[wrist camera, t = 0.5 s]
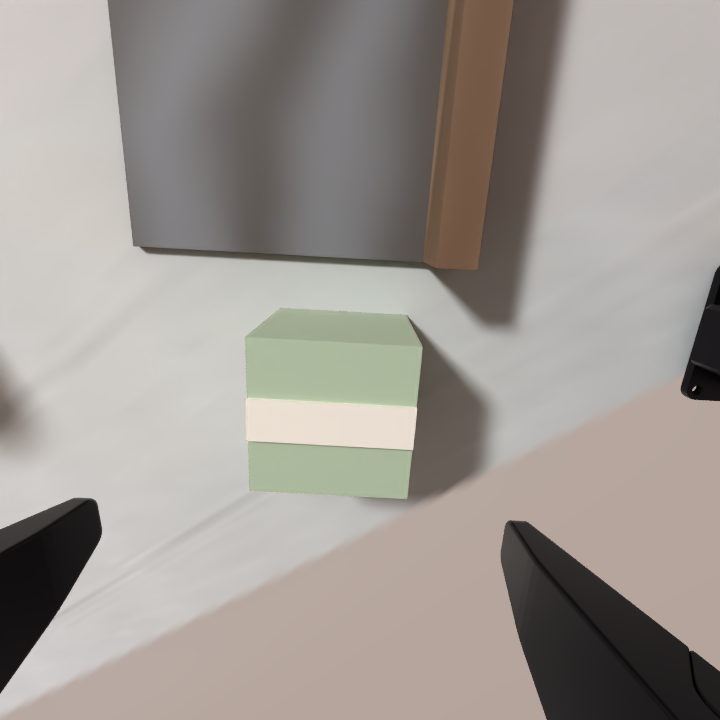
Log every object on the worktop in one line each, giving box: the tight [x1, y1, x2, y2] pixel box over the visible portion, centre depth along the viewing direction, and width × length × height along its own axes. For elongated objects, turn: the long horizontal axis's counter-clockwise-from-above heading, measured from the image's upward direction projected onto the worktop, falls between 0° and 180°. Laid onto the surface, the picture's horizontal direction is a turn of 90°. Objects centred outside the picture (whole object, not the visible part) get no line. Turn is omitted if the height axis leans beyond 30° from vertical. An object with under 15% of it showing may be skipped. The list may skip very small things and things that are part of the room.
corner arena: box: [108, 0, 514, 270], centre depth 15 cm, size 14×14×4 cm
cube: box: [245, 308, 423, 499], centre depth 17 cm, size 6×6×6 cm
